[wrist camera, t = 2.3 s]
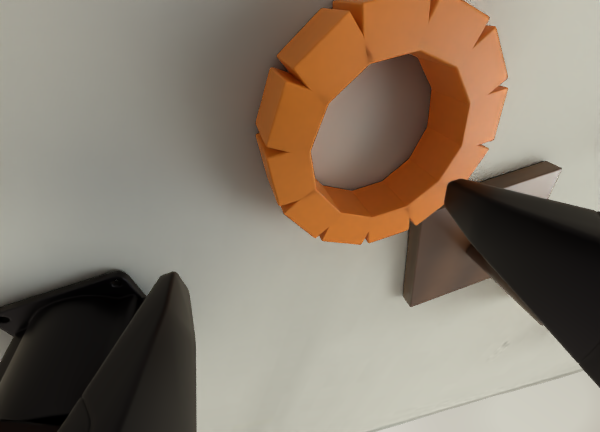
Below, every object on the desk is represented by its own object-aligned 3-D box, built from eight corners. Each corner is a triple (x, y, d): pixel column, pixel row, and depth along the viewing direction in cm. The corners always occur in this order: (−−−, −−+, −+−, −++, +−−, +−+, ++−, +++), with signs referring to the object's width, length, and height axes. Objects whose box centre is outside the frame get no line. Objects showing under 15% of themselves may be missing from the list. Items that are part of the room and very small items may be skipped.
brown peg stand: (402, 296, 25) (461, 382, 19) (411, 204, 19) (502, 293, 13) (504, 258, 26) (588, 330, 20) (546, 160, 20) (682, 224, 14)
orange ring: (283, 236, 17) (295, 268, 15) (224, 26, 10) (231, 33, 8) (445, 184, 18) (475, 207, 16) (484, -35, 12) (544, -41, 10)
